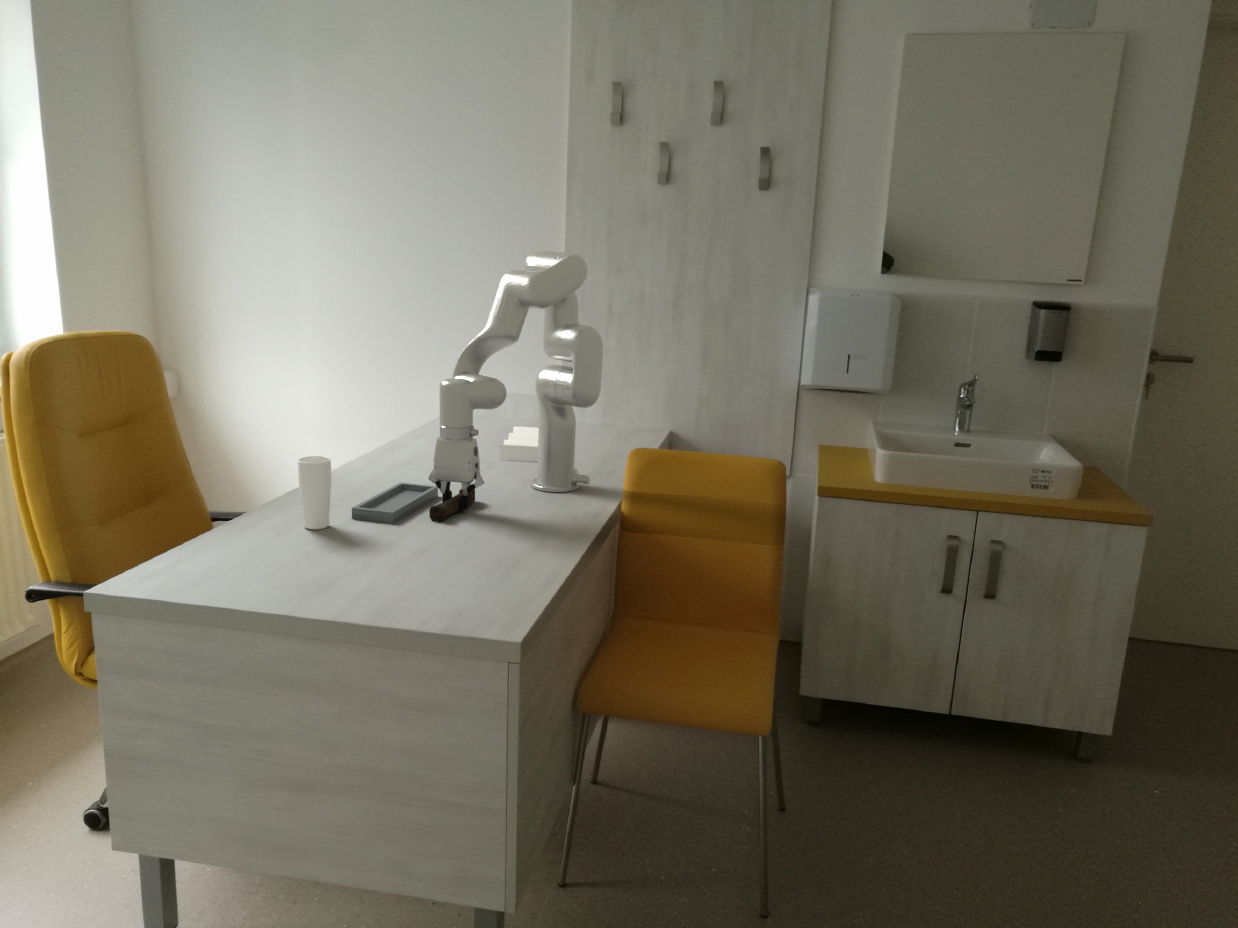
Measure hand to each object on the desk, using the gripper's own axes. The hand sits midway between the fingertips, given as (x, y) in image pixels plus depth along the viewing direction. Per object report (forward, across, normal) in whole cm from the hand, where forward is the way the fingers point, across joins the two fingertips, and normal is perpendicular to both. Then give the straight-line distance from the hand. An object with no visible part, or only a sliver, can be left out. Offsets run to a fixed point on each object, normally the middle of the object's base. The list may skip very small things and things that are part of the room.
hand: (456, 509), depth 219 cm
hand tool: (+1, 0, 0) cm, 1 cm away
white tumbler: (+1, +23, +22) cm, 32 cm away
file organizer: (+1, +6, -70) cm, 71 cm away
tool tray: (0, +14, +2) cm, 14 cm away
